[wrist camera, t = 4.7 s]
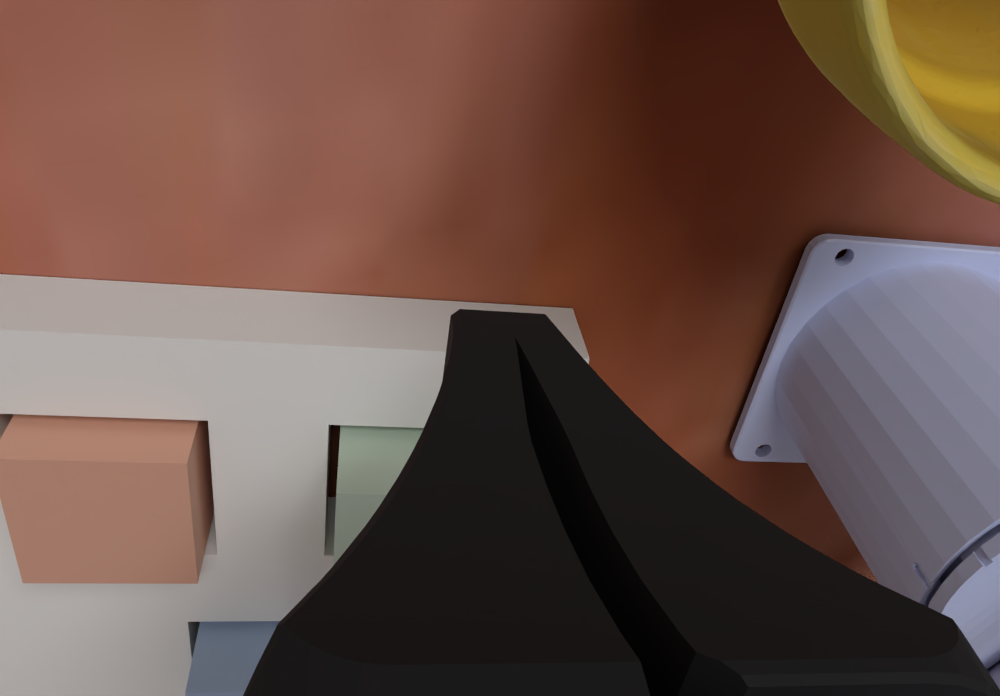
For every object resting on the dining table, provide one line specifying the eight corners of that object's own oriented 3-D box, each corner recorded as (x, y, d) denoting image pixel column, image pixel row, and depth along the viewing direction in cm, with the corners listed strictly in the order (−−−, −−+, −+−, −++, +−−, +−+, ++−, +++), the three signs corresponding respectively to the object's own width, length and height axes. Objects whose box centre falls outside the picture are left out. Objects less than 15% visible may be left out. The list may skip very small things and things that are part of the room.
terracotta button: (207, 387, 23) (186, 463, 21) (215, 503, 25) (198, 583, 23) (32, 380, 22) (-11, 458, 20) (58, 501, 25) (22, 583, 22)
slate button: (345, 606, 27) (341, 689, 25) (340, 686, 30) (337, 769, 27) (202, 606, 27) (185, 692, 24) (210, 689, 29) (194, 774, 27)
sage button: (501, 420, 24) (515, 497, 21) (481, 530, 26) (491, 610, 24) (341, 414, 23) (336, 494, 20) (335, 528, 25) (331, 611, 23)
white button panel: (572, 308, 24) (589, 358, 22) (488, 689, 34) (494, 747, 32) (-147, 265, 21) (-203, 319, 19) (-3, 699, 31) (-30, 763, 29)
